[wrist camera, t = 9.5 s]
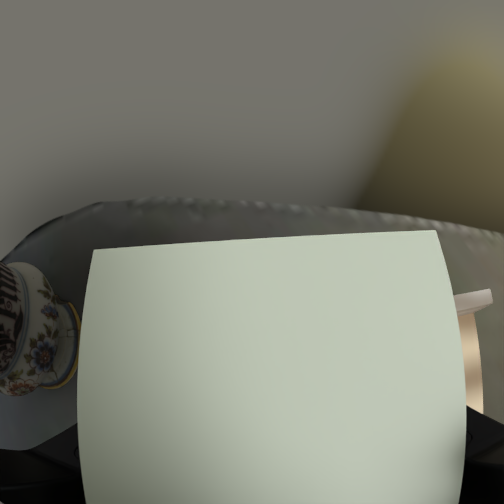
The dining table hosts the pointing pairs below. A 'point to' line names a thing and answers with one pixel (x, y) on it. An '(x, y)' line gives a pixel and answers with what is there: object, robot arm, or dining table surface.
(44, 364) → the apothecary jar
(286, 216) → the dining table surface
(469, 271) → the dining table surface
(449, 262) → the dining table surface
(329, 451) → the carton
